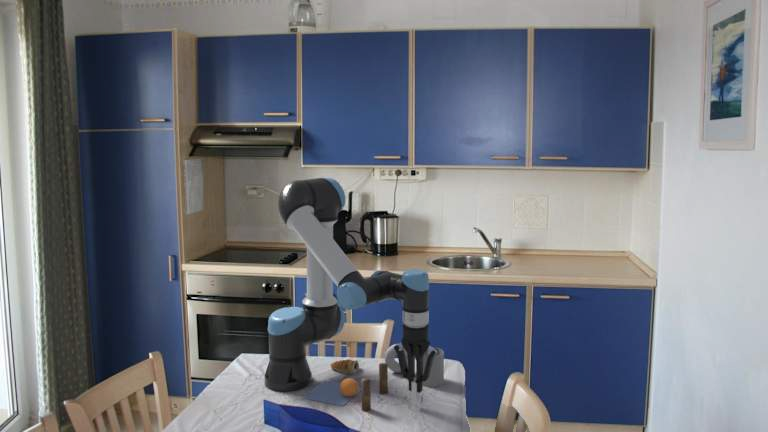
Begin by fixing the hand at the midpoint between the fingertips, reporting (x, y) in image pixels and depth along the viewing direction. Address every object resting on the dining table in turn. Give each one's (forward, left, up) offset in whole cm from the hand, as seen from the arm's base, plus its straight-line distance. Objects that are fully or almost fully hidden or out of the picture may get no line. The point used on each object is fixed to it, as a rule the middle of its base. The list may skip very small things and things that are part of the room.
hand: (415, 401), depth 193 cm
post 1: (-13, -6, -2) cm, 15 cm away
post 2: (-13, +6, -2) cm, 15 cm away
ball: (-22, 0, +1) cm, 22 cm away
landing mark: (-27, 0, -2) cm, 27 cm away
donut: (-14, +23, -2) cm, 27 cm away
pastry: (-32, +18, -2) cm, 37 cm away
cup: (-2, +20, -2) cm, 20 cm away
